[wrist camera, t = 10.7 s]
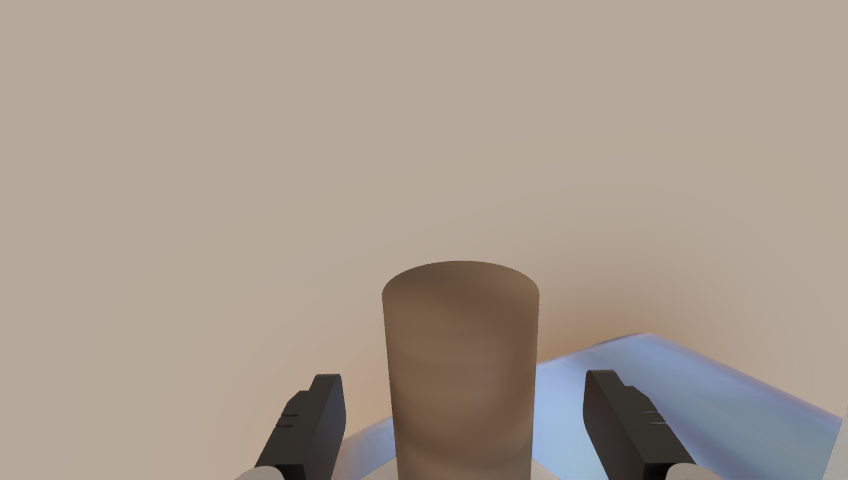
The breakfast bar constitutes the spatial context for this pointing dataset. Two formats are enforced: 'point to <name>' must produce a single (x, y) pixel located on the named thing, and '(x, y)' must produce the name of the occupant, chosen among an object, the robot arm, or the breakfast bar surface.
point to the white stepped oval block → (839, 455)
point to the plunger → (462, 370)
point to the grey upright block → (387, 474)
